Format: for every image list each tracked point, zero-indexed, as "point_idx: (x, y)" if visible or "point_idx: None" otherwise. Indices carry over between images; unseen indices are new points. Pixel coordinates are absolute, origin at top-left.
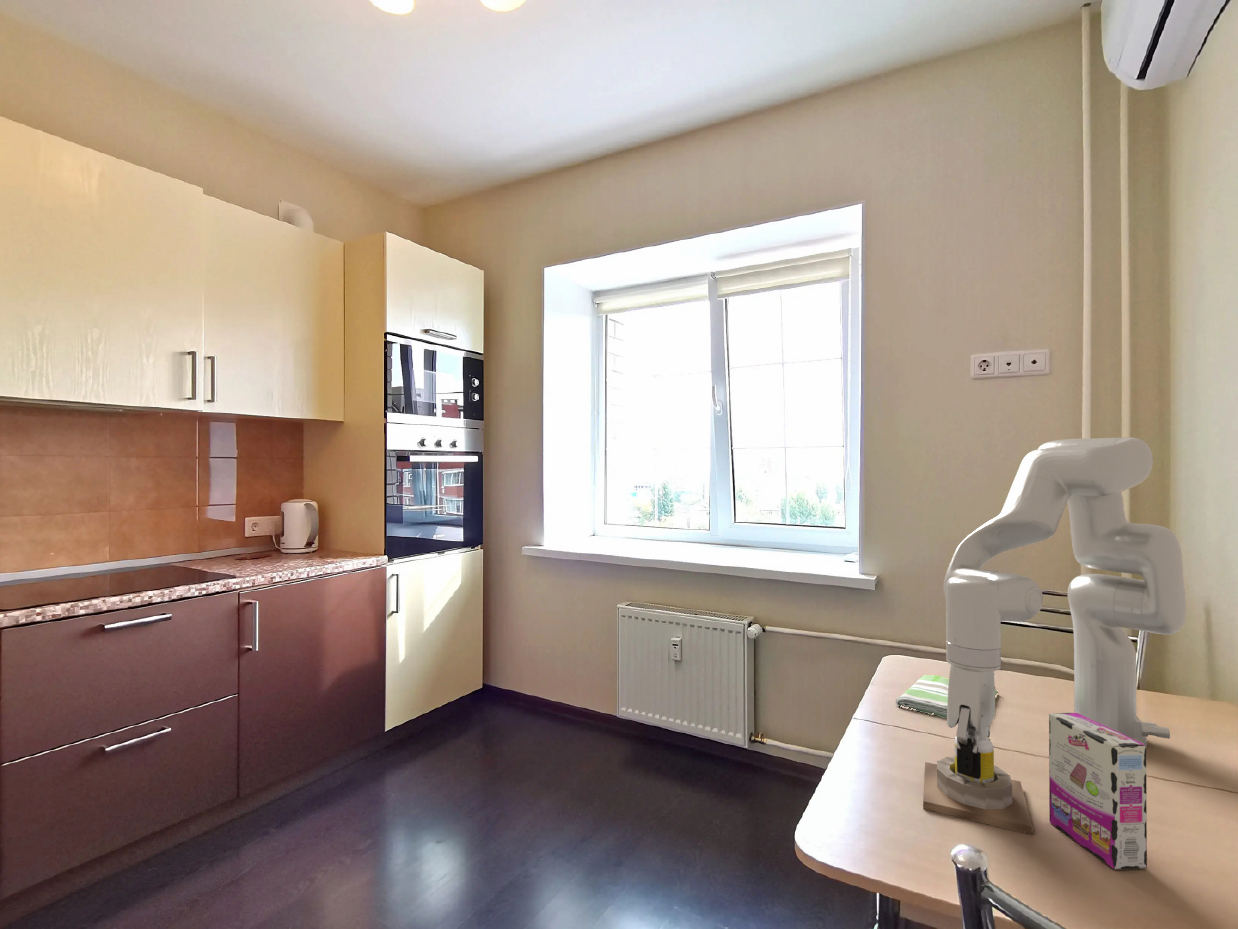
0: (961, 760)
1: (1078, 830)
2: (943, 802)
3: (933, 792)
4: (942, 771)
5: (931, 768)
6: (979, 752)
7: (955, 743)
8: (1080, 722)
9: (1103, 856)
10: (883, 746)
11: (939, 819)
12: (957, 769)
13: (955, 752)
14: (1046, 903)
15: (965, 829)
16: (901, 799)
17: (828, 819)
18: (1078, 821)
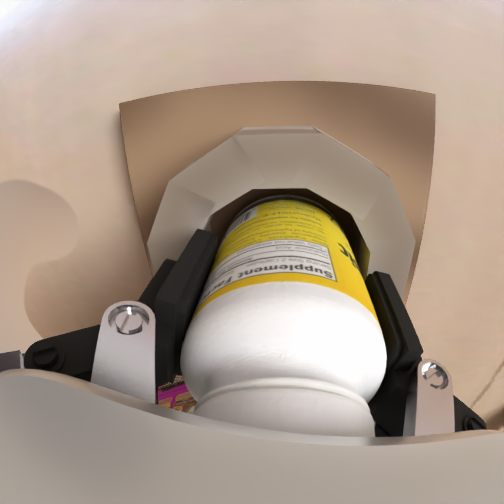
0: (151, 280)
1: (190, 396)
2: (145, 157)
3: (192, 120)
4: (213, 160)
5: (393, 110)
6: (171, 380)
7: (250, 288)
8: None
9: (162, 394)
10: (496, 3)
11: (106, 149)
12: (194, 233)
13: (257, 253)
14: (27, 304)
15: (103, 209)
16: (153, 37)
17: None
18: (186, 409)
